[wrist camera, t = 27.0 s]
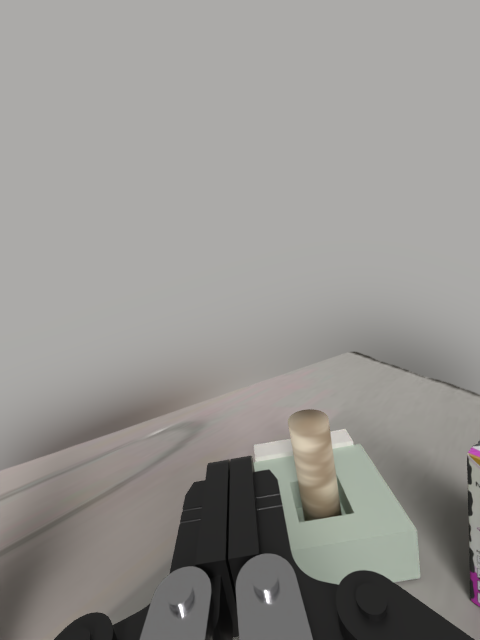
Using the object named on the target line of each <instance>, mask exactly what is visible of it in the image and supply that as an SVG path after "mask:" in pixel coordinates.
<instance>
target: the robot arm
mask: <svg viewBox="0 0 480 640" xmlns="http://www.w3.org/2000/svg"><path fill="white" fill-rule="evenodd" d="M238 636H239V640H474V639H473V638H471V637H470V636H469V635H467V634H466V633H464V632H463V631H462V630H460V629H459V628H457V627H456V626H454V625H453V624H452V623H450V622H449V621H447V620H446V619H445V618H443V617H442V616H440V615H439V614H438V613H436V612H435V611H433V610H432V609H430V608H429V607H428V606H426V605H425V604H423V603H422V602H421V601H419V600H418V599H416V598H415V597H414V596H412V595H411V594H409V593H408V592H407V591H405V590H404V589H402V588H401V587H399V586H398V585H397V584H395V583H394V582H392V581H391V580H390V579H388V578H386V577H385V576H383V575H381V574H379V573H377V572H373V571H368V570H359V571H354V572H352V573H350V574H348V575H347V576H345V577H344V578H343V579H342V580H341V582H340V584H339V585H338V584H333V583H328V582H323V581H319V580H316V579H314V578H312V577H310V576H308V575H307V574H305V573H304V572H303V571H302V570H301V569H300V568H299V567H298V565H297V564H296V562H295V561H294V558H293V556H292V552H291V547H290V542H289V537H288V532H287V526H286V521H285V516H284V511H283V505H282V500H281V495H280V489H279V484H278V479H277V478H276V477H275V476H274V474H273V473H272V472H271V471H270V470H269V469H268V470H262V471H256V472H255V469H254V464H253V459H252V456H247V457H241V458H235V459H231V460H224V461H219V462H213V463H208V465H207V473H206V480H205V481H199V482H194V483H193V485H192V486H191V488H190V489H189V491H188V492H187V494H186V495H185V500H184V505H183V512H182V515H181V520H180V525H179V530H178V535H177V540H176V545H175V550H174V555H173V560H172V565H171V570H170V574H169V575H168V576H167V577H166V578H165V579H164V580H163V581H162V582H161V583H160V584H159V586H158V587H157V589H156V591H155V593H154V595H153V598H152V601H151V603H150V604H149V605H148V606H147V607H145V608H144V609H142V610H141V611H139V612H137V613H135V614H133V615H132V616H130V617H128V618H126V619H124V620H122V621H120V622H118V623H116V624H114V625H112V623H111V620H110V619H109V617H108V616H106V615H105V614H103V613H97V612H96V613H90V614H86V615H84V616H82V617H80V618H78V619H76V620H75V621H73V622H72V623H71V624H69V625H68V626H67V627H66V628H65V629H64V630H63V631H62V632H61V633H60V634H59V635H58V636H57V637H56V638H55V639H54V640H233V637H238Z"/></svg>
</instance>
